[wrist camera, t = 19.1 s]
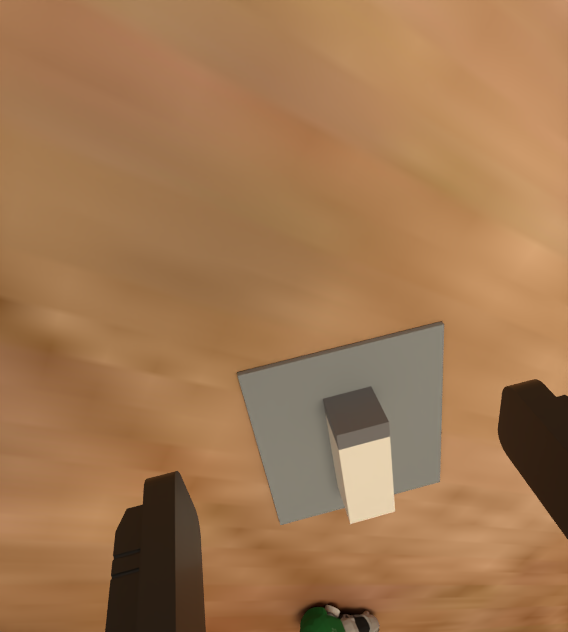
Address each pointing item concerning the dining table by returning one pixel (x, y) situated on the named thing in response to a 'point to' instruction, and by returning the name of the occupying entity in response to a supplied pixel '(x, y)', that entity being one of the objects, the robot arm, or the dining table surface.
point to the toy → (337, 621)
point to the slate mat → (311, 425)
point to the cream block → (361, 453)
